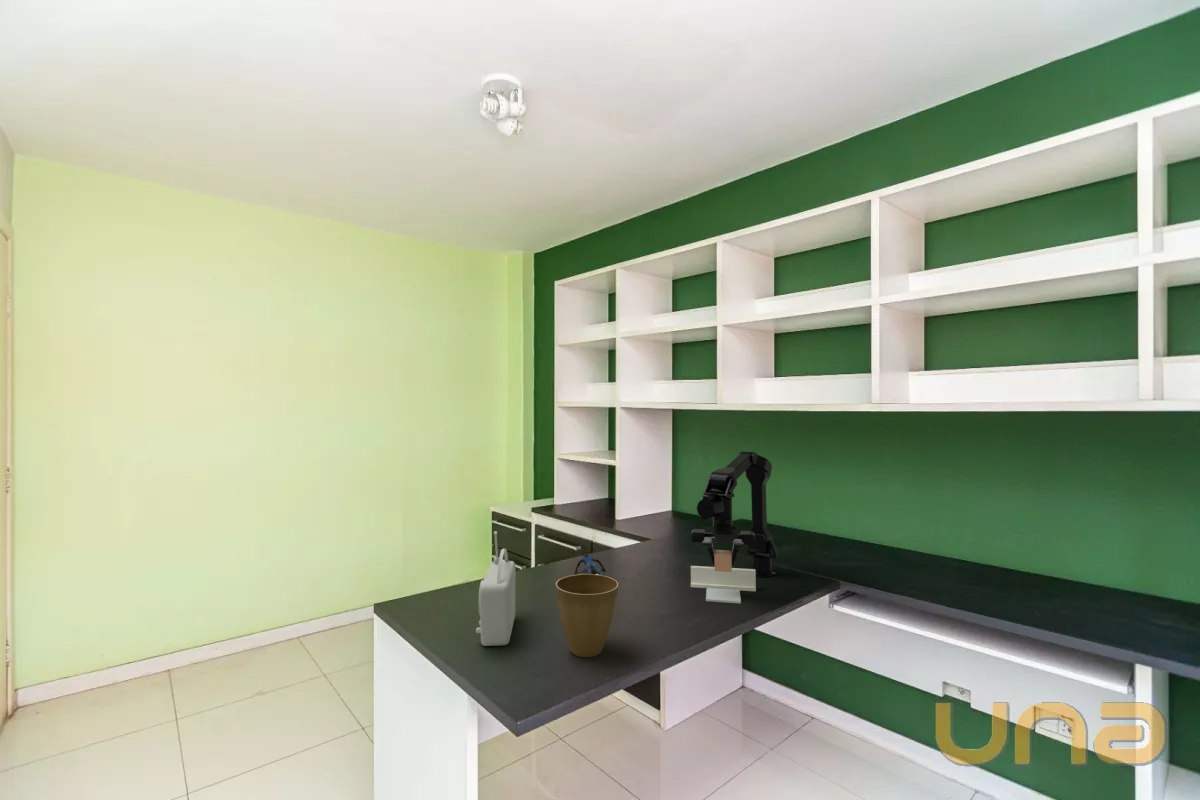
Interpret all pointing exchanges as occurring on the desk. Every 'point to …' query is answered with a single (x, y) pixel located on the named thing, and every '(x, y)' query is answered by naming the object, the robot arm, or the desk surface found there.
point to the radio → (497, 601)
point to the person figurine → (590, 565)
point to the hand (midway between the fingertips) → (723, 565)
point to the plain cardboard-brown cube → (723, 560)
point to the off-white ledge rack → (723, 578)
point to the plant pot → (586, 611)
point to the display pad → (723, 595)
